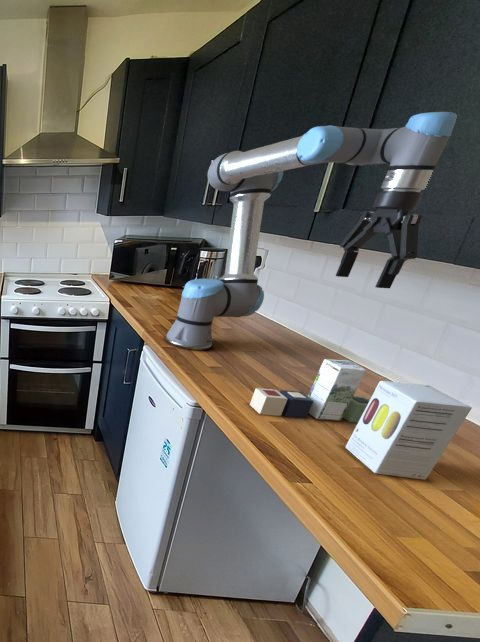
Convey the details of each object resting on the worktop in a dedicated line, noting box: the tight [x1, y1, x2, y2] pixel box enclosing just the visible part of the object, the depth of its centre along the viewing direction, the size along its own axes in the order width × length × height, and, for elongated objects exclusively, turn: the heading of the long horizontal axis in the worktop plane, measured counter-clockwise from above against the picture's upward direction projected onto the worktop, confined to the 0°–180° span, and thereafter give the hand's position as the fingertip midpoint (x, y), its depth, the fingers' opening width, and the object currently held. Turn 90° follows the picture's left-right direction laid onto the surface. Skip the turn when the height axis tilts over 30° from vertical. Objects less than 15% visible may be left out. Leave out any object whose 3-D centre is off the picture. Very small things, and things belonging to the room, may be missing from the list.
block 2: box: [279, 389, 313, 419], centre depth 102 cm, size 5×5×5 cm
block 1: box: [249, 387, 287, 417], centre depth 102 cm, size 5×5×5 cm
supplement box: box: [345, 380, 473, 480], centre depth 81 cm, size 10×9×17 cm
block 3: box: [342, 395, 370, 424], centre depth 100 cm, size 5×5×5 cm
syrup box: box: [307, 358, 367, 422], centre depth 99 cm, size 6×6×14 cm
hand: (360, 282), depth 102 cm, fingers open, 13 cm apart
